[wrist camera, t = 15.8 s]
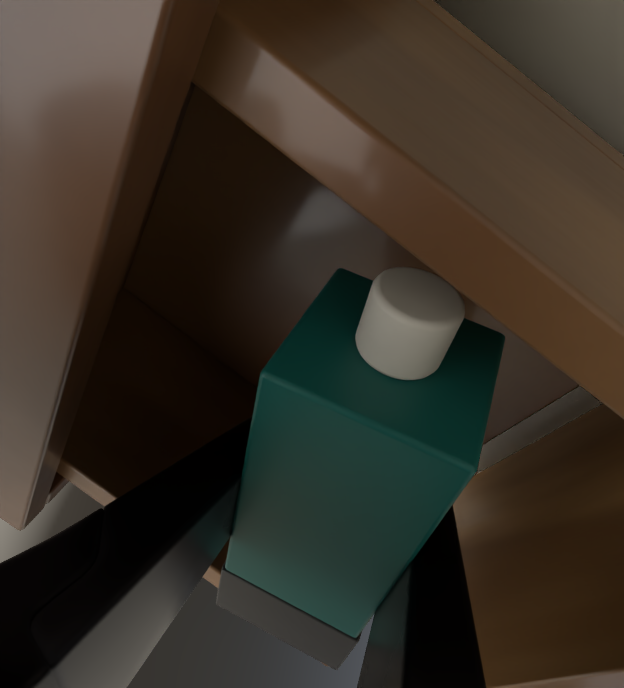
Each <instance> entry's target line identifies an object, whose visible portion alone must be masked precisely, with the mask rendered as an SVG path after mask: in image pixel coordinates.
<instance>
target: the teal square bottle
mask: <svg viewBox="0 0 624 688" xmlns="http://www.w3.org/2000/svg"><path fill="white" fill-rule="evenodd" d="M464 316H465V305H464V301H463V299H462V297H461V295H460V294H459V292H458V291H457V290H456V289H455V288H454V287H453V286H452V285H451V284H450V283H448V282H447V281H445V280H444V279H442V278H441V277H439V276H437V275H435V274H432V273H430V272H427V271H424V270H421V269H417V268H411V267H396V268H391V269H388V270H385V271H383V272H382V273H381V274H379V275H378V276H377V277H376V278H375V280H374V281H373V280H370V279H368V278H365V277H363V276H361V275H358V274H356V273H353V272H351V271H348V270H346V269H343V268H338V269H337V270H336V271H335V273H334V274H333V275H332V277H331V278H330V279H329V281H328V282H327V283H326V285H325V286H324V287H323V289H322V290H321V291H320V293H319V294H318V296H317V297H316V298H315V300H314V301H313V302H312V304H311V305H310V306H309V308H308V309H307V310H306V312H305V313H304V314H303V316H302V317H301V318H300V320H299V321H298V322H297V324H296V325H295V326H294V328H293V329H292V330H291V332H290V333H289V334H288V336H287V337H286V339H285V340H284V341H283V343H282V344H281V345H280V347H279V348H278V349H277V351H276V352H275V353H274V355H273V356H272V357H271V359H270V360H269V361H268V363H267V364H266V365H265V367H264V368H263V369H262V371H261V372H260V377H259V382H258V388H257V393H256V399H255V404H254V410H253V415H252V421H251V426H250V432H249V437H248V443H247V448H246V454H245V459H244V465H243V470H242V477H241V483H240V488H239V494H238V499H237V504H236V510H235V515H234V521H233V526H232V532H231V536H230V542H229V547H228V553H227V558H226V561H225V563H224V564H223V566H222V569H221V575H220V581H219V587H218V592H217V598H216V604H217V605H218V606H220V607H222V608H224V609H225V610H227V611H229V612H231V613H233V614H234V615H236V616H238V617H240V618H242V619H244V620H245V621H247V622H249V623H251V624H253V625H255V626H256V627H258V628H260V629H262V630H264V631H265V632H267V633H269V634H271V635H273V636H275V637H276V638H278V639H280V640H282V641H284V642H286V643H287V644H289V645H291V646H293V647H295V648H296V649H298V650H300V651H302V652H304V653H305V654H307V655H309V656H311V657H313V658H315V659H317V660H318V661H320V662H322V663H324V664H326V665H327V666H329V667H331V668H333V669H335V670H338V668H339V667H340V666H341V664H342V663H343V662H344V660H345V659H346V658H347V656H348V655H349V654H350V652H351V651H352V649H353V648H354V647H355V645H356V644H357V643H358V641H359V639H360V636H361V633H362V630H363V629H364V627H365V626H366V625H367V623H368V622H369V620H370V619H371V617H372V616H373V615H374V613H375V611H376V610H377V608H378V607H379V606H380V604H381V603H382V601H383V600H384V599H385V597H386V596H387V594H388V593H389V592H390V590H391V589H392V588H393V586H394V585H395V583H396V582H397V581H398V579H399V578H400V576H401V575H402V574H403V572H404V571H405V569H406V568H407V567H408V565H409V564H410V562H411V561H412V560H413V559H414V558H415V556H416V555H417V554H418V552H419V551H420V549H421V548H422V547H423V545H424V544H425V543H426V541H427V540H428V538H429V537H430V536H431V534H432V533H433V531H434V530H435V529H436V527H437V526H438V524H439V523H440V522H441V520H442V519H443V518H444V516H445V515H446V513H447V512H448V511H449V509H450V508H451V506H452V505H453V504H454V502H455V501H456V499H457V498H458V497H459V495H460V494H461V493H462V491H463V490H464V488H465V487H466V486H467V484H468V483H469V481H470V480H471V479H472V477H473V476H474V474H475V473H476V472H477V468H478V463H479V459H480V454H481V449H482V445H483V440H484V436H485V431H486V426H487V422H488V417H489V412H490V408H491V403H492V399H493V394H494V389H495V385H496V380H497V375H498V371H499V366H500V362H501V357H502V352H503V348H504V343H505V335H503V334H502V333H500V332H498V331H495V330H493V329H490V328H488V327H486V326H483V325H481V324H478V323H476V322H473V321H471V320H468V319H466V318H464Z"/></svg>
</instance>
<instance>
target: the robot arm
mask: <svg viewBox="0 0 624 688" xmlns="http://www.w3.org/2000/svg"><path fill="white" fill-rule="evenodd" d="M251 421H252V416H251V417H250V418H248V419H246V420H245V421H243V422H241V423H240V424H238V425H236V426H235V427H233V428H232V429H230V430H228V431H227V432H225V433H223V434H222V435H220V436H218V437H217V438H215V439H214V440H212V441H210V442H209V443H207V444H205V445H204V446H202V447H200V448H199V449H197V450H196V451H194V452H192V453H191V454H189V455H187V456H186V457H184V458H182V459H181V460H179V461H178V462H176V463H174V464H173V465H171V466H169V467H168V468H166V469H164V470H163V471H161V472H160V473H158V474H156V475H155V476H153V477H151V478H150V479H148V480H146V481H145V482H143V483H141V484H140V485H138V486H137V487H135V488H133V489H132V490H130V491H128V492H127V493H125V494H123V495H122V496H120V497H119V498H117V499H115V500H114V501H112V502H110V503H109V504H107V505H106V506H105V507H104V510H103V509H98V510H97V511H95V512H94V513H92V514H90V515H89V516H87V517H85V518H84V519H82V520H81V521H79V522H77V523H75V524H74V525H72V526H70V527H69V528H67V529H65V530H64V531H61V532H60V533H58V534H56V535H55V536H53V537H51V538H49V539H48V540H46V541H44V542H41V543H40V544H38V545H36V546H34V547H32V548H30V549H28V550H26V551H24V552H22V553H20V554H18V555H16V556H14V557H12V558H10V559H8V560H6V561H4V562H2V563H0V688H126V687H127V686H128V685H129V683H130V682H131V680H132V679H133V677H134V676H135V674H136V673H137V672H138V670H139V669H140V667H141V665H142V664H143V663H144V661H145V660H146V658H147V657H148V655H149V654H150V653H151V651H152V650H153V648H154V647H155V645H156V644H157V642H158V641H159V640H160V638H161V637H162V635H163V633H164V632H165V631H166V629H167V628H168V626H169V625H170V624H171V622H172V621H173V619H174V618H175V616H176V615H177V613H178V612H179V610H180V609H181V607H182V606H183V605H184V603H185V602H186V600H187V599H188V597H189V596H190V594H191V593H192V592H193V590H194V589H195V587H196V586H197V584H198V583H199V581H200V580H201V578H202V577H203V576H204V574H205V573H206V571H207V570H208V568H209V567H210V565H211V564H212V562H213V561H214V560H215V558H216V557H217V555H218V554H219V552H220V551H221V549H222V548H223V546H224V545H225V544H226V542H227V541H228V539H229V538H230V536H231V532H232V526H233V521H234V515H235V510H236V504H237V499H238V494H239V488H240V483H241V477H242V470H243V465H244V459H245V454H246V448H247V443H248V437H249V432H250V426H251ZM357 688H486V683H485V677H484V672H483V666H482V661H481V656H480V650H479V645H478V639H477V634H476V628H475V623H474V617H473V612H472V607H471V601H470V596H469V590H468V585H467V579H466V574H465V569H464V563H463V558H462V552H461V547H460V541H459V536H458V531H457V525H456V520H455V514H454V509H453V505H452V506H451V508H450V509H449V511H448V512H447V513H446V515H445V516H444V518H443V519H442V520H441V522H440V523H439V524H438V526H437V527H436V529H435V530H434V531H433V533H432V534H431V536H430V537H429V538H428V540H427V541H426V543H425V544H424V545H423V547H422V548H421V549H420V551H419V552H418V554H417V555H416V556H415V558H414V559H413V560H412V561H411V562H410V564H409V565H408V567H407V568H406V569H405V571H404V572H403V574H402V575H401V576H400V578H399V579H398V581H397V582H396V583H395V585H394V586H393V588H392V589H391V590H390V592H389V593H388V594H387V596H386V597H385V599H384V600H383V601H382V603H381V604H380V606H379V607H378V608H377V610H376V611H375V614H374V619H373V623H372V627H371V631H370V635H369V639H368V644H367V648H366V652H365V656H364V660H363V664H362V669H361V673H360V677H359V681H358V685H357Z"/></svg>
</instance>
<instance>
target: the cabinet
mask: <svg viewBox="0 0 624 688" xmlns="http://www.w3.org/2000/svg"><path fill="white" fill-rule="evenodd" d="M218 3H219V0H0V518H2V519H3V520H4V521H6V522H7V523H9V524H10V525H11V526H13V527H14V528H16V529H17V530H20V531H21V530H23V529H24V528H25V527H26V526H27V525H28V524H29V523H30V522H31V521H32V520H33V519H34V518H35V517H36V516H37V515H38V514H39V512H40V511H41V510H42V509H43V508H44V506H45V504H47V503H49V502H50V501H51V500H52V499H53V498H54V497H55V496H56V495H57V493H58V492H59V491H60V490H61V489H62V488H63V487H64V486H65V485H66V484H67V483H68V482H69V481H68V480H67V479H66V478H64V477H63V476H62V475H60V474H59V473H57V472H56V471H57V468H58V465H59V462H60V459H61V457H62V454H63V451H64V448H65V445H66V442H67V439H68V436H69V433H70V431H71V428H72V425H73V422H74V419H75V416H76V413H77V410H78V407H79V405H80V402H81V399H82V396H83V393H84V390H85V387H86V384H87V381H88V379H89V376H90V373H91V370H92V367H93V364H94V361H95V358H96V355H97V353H98V350H99V347H100V344H101V341H102V338H103V335H104V332H105V329H106V327H107V324H108V321H109V318H110V315H111V312H112V309H113V306H114V304H115V301H116V298H117V295H118V292H119V289H120V286H121V283H122V280H123V278H124V275H125V272H126V269H127V266H128V263H129V260H130V257H131V254H132V252H133V249H134V246H135V243H136V240H137V237H138V234H139V231H140V228H141V226H142V223H143V220H144V217H145V214H146V211H147V208H148V205H149V202H150V200H151V197H152V194H153V191H154V188H155V185H156V182H157V179H158V176H159V174H160V171H161V168H162V165H163V162H164V159H165V156H166V153H167V150H168V148H169V145H170V142H171V139H172V136H173V133H174V130H175V127H176V124H177V122H178V119H179V116H180V113H181V110H182V107H183V104H184V101H185V98H186V96H187V93H188V90H189V87H190V84H191V81H192V78H193V75H194V72H195V70H196V67H197V64H198V61H199V58H200V55H201V52H202V49H203V46H204V44H205V41H206V38H207V35H208V32H209V29H210V26H211V23H212V20H213V18H214V15H215V12H216V9H217V6H218Z"/></svg>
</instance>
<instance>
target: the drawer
mask: <svg viewBox="0 0 624 688" xmlns="http://www.w3.org/2000/svg"><path fill="white" fill-rule="evenodd" d="M396 267H411V268H417V269H421V270H424V271H427V272H430V273H432V274H435V275H437V276H439V277H441V278H442V279H444V280H445V281H447V282H448V283H450V284H451V285H452V286H453V287H454V288H455V289H456V290H457V291H458V292H459V294H460V295H461V297H462V299H463V301H464V305H465V316H464V318H466V319H468V320H471V321H473V322H476V323H478V324H481V325H483V326H486V327H488V328H490V329H493V330H495V331H498V332H500V333H502V334H503V335H505V343H504V348H503V352H502V357H501V362H500V366H499V371H498V375H497V380H496V385H495V389H494V394H493V399H492V403H491V408H490V412H489V417H488V422H487V426H486V431H485V436H484V440H483V444H485V443H487V442H488V441H490V440H492V439H493V438H495V437H496V436H498V435H500V434H501V433H503V432H505V431H506V430H508V429H510V428H511V427H513V426H514V425H516V424H518V423H519V422H521V421H523V420H524V419H526V418H528V417H529V416H531V415H532V414H534V413H536V412H537V411H539V410H541V409H542V408H544V407H546V406H547V405H549V404H551V403H552V402H554V401H555V400H557V399H559V398H560V397H562V396H564V395H565V394H567V393H569V392H570V391H572V390H573V389H575V388H577V387H578V386H581V387H583V388H584V389H585V390H586V391H588V392H589V393H590V394H592V395H593V396H594V397H595V398H597V399H598V400H599V401H601V402H602V403H603V404H601V405H599V406H598V407H596V408H594V409H592V410H591V411H589V412H587V413H585V414H583V415H582V416H580V417H578V418H576V419H575V420H573V421H571V422H569V423H567V424H566V425H564V426H562V427H560V428H558V429H557V430H555V431H553V432H551V433H550V434H548V435H546V436H544V437H542V438H541V439H539V440H537V441H535V442H534V443H532V444H530V445H528V446H526V447H525V448H523V449H521V450H519V451H517V452H516V453H514V454H512V455H510V456H509V457H507V458H505V459H503V460H501V461H500V462H498V463H496V464H494V465H492V466H491V467H489V468H487V469H485V470H484V471H482V472H480V473H478V474H476V475H475V476H473V477H472V479H471V480H470V481H469V483H468V484H467V486H466V487H465V488H464V490H463V491H462V493H461V494H460V495H459V497H458V498H457V499H456V501H455V502H454V504H453V509H454V514H455V520H456V525H457V531H458V536H459V541H460V547H461V552H462V558H463V563H464V569H465V574H466V579H467V585H468V590H469V596H470V601H471V607H472V612H473V617H474V623H475V628H476V634H477V639H478V645H479V650H480V656H481V661H482V666H483V672H484V677H485V683H486V688H624V156H623V155H622V154H621V153H620V152H618V151H617V150H616V149H615V148H613V147H612V146H611V145H610V144H608V143H607V142H606V141H605V140H604V139H602V138H601V137H600V136H599V135H597V134H596V133H595V132H594V131H593V130H591V129H590V128H589V127H588V126H586V125H585V124H584V123H583V122H582V121H580V120H579V119H578V118H577V117H575V116H574V115H573V114H572V113H571V112H569V111H568V110H567V109H566V108H564V107H563V106H562V105H561V104H560V103H558V102H557V101H556V100H555V99H553V98H552V97H551V96H550V95H549V94H547V93H546V92H545V91H544V90H542V89H541V88H540V87H539V86H538V85H536V84H535V83H534V82H533V81H531V80H530V79H529V78H528V77H527V76H525V75H524V74H523V73H522V72H520V71H519V70H518V69H517V68H516V67H514V66H513V65H512V64H511V63H509V62H508V61H507V60H506V59H505V58H503V57H502V56H501V55H500V54H498V53H497V52H496V51H495V50H493V49H492V48H491V47H490V46H489V45H487V44H486V43H485V42H484V41H482V40H481V39H480V38H479V37H478V36H476V35H475V34H474V33H473V32H471V31H470V30H469V29H468V28H467V27H465V26H464V25H463V24H462V23H460V22H459V21H458V20H457V19H456V18H454V17H453V16H452V15H451V14H449V13H448V12H447V11H446V10H445V9H443V8H442V7H441V6H440V5H438V4H437V3H436V2H435V1H434V0H219V3H218V6H217V9H216V12H215V15H214V18H213V20H212V23H211V26H210V29H209V32H208V35H207V38H206V41H205V44H204V46H203V49H202V52H201V55H200V58H199V61H198V64H197V67H196V70H195V72H194V75H193V78H192V81H191V84H190V87H189V90H188V93H187V96H186V98H185V101H184V104H183V107H182V110H181V113H180V116H179V119H178V122H177V124H176V127H175V130H174V133H173V136H172V139H171V142H170V145H169V148H168V150H167V153H166V156H165V159H164V162H163V165H162V168H161V171H160V174H159V176H158V179H157V182H156V185H155V188H154V191H153V194H152V197H151V200H150V202H149V205H148V208H147V211H146V214H145V217H144V220H143V223H142V226H141V228H140V231H139V234H138V237H137V240H136V243H135V246H134V249H133V252H132V254H131V257H130V260H129V263H128V266H127V269H126V272H125V275H124V278H123V280H122V283H121V286H120V289H119V292H118V295H117V298H116V301H115V304H114V306H113V309H112V312H111V315H110V318H109V321H108V324H107V327H106V329H105V332H104V335H103V338H102V341H101V344H100V347H99V350H98V353H97V355H96V358H95V361H94V364H93V367H92V370H91V373H90V376H89V379H88V381H87V384H86V387H85V390H84V393H83V396H82V399H81V402H80V405H79V407H78V410H77V413H76V416H75V419H74V422H73V425H72V428H71V431H70V433H69V436H68V439H67V442H66V445H65V448H64V451H63V454H62V457H61V459H60V462H59V465H58V468H57V471H56V472H57V473H59V474H60V475H62V476H63V477H64V478H66V479H67V480H68V481H70V482H71V483H73V484H74V485H75V486H77V487H78V488H80V489H81V490H82V491H84V492H85V493H87V494H88V495H89V496H91V497H92V498H93V499H95V500H96V501H98V502H99V503H100V504H102V505H103V506H106V505H107V504H109V503H110V502H112V501H114V500H115V499H117V498H119V497H120V496H122V495H123V494H125V493H127V492H128V491H130V490H132V489H133V488H135V487H137V486H138V485H140V484H141V483H143V482H145V481H146V480H148V479H150V478H151V477H153V476H155V475H156V474H158V473H160V472H161V471H163V470H164V469H166V468H168V467H169V466H171V465H173V464H174V463H176V462H178V461H179V460H181V459H182V458H184V457H186V456H187V455H189V454H191V453H192V452H194V451H196V450H197V449H199V448H200V447H202V446H204V445H205V444H207V443H209V442H210V441H212V440H214V439H215V438H217V437H218V436H220V435H222V434H223V433H225V432H227V431H228V430H230V429H232V428H233V427H235V426H236V425H238V424H240V423H241V422H243V421H245V420H246V419H248V418H250V417H251V416H252V415H253V410H254V404H255V399H256V393H257V388H258V382H259V377H260V372H261V371H262V369H263V368H264V367H265V365H266V364H267V363H268V361H269V360H270V359H271V357H272V356H273V355H274V353H275V352H276V351H277V349H278V348H279V347H280V345H281V344H282V343H283V341H284V340H285V339H286V337H287V336H288V334H289V333H290V332H291V330H292V329H293V328H294V326H295V325H296V324H297V322H298V321H299V320H300V318H301V317H302V316H303V314H304V313H305V312H306V310H307V309H308V308H309V306H310V305H311V304H312V302H313V301H314V300H315V298H316V297H317V296H318V294H319V293H320V291H321V290H322V289H323V287H324V286H325V285H326V283H327V282H328V281H329V279H330V278H331V277H332V275H333V274H334V273H335V271H336V270H337V269H338V268H343V269H346V270H348V271H351V272H353V273H356V274H358V275H361V276H363V277H365V278H368V279H370V280H373V281H374V280H375V278H376V277H377V276H378V275H379V274H381V273H382V272H383V271H385V270H388V269H391V268H396ZM229 542H230V538H229V539H228V541H227V542H226V544H225V545H224V546H223V548H222V549H221V551H220V552H219V554H218V555H217V557H216V558H215V560H214V561H213V562H212V564H211V565H210V567H209V568H208V570H207V571H206V573H205V574H204V576H203V578H205V579H206V580H208V581H209V582H210V583H212V584H213V585H214V586H216V587H217V588H218V587H219V581H220V575H221V569H222V566H223V564H224V563H225V561H226V558H227V553H228V547H229ZM323 664H324V663H323ZM324 665H325V666H327V665H326V664H324Z"/></svg>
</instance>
